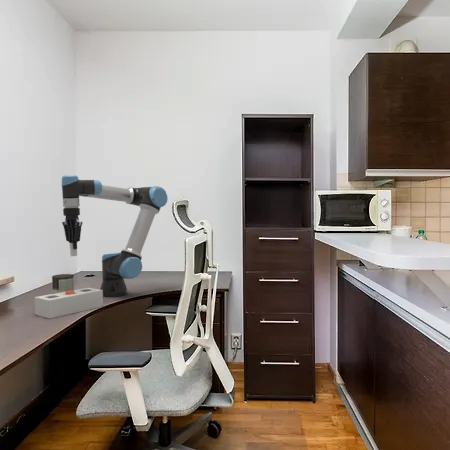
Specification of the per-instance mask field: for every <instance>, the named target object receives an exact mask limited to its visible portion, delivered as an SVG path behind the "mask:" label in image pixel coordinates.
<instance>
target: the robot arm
mask: <svg viewBox="0 0 450 450" xmlns="http://www.w3.org/2000/svg"><path fill="white" fill-rule="evenodd" d="M61 190H62V193H61V194H62V207H64V208H63V209H62V210H63V216H64V217H65V219H64V221H62V222H61V223H62V226H63V230H64V231H63V232H64V236H65V240H66V242H68V243H69V249H70V250H69V251H70V252H69V253H70V257H77V256H78V242H80V241H81V233H82V227H83V221H80V219H79V216H80V215H81V209H80V207H81V206H80V204H81V203H80V197H83V198H91V199H92V198H93V199H101V200H108V201H116V202H124V203H125V204H126V205H132V206H136V207H139V208H140V210H139V213H138V214H137V218H136V220H135V222H134V226H133V228H132V230H131V233H130V236H129V238H128V241H127V244H126V246H125V248H124V249H122V250H121V251H120V252H115V253H105V254H103V255H102V256H101V271H102V277H101V278H102V281H101V285H100V289H99V290H103V297H112V298H113V297H119V296H120V297H121V296H124V295H127V294H128V288H127V284H126V282H125V279H127V280H128V279H129V280H131V279H134V278H137V277H138V276H139V275H140V274H141V272H142V270H143V262H142V259H143V256H142V255H141V253H142V252H143V248H144V245H145V243H146V240H147V238H148V237H147V236H148V235H149V232H150V229H151V227H152V224H153V221H154V219H155V217H156V215H157V214H159V213H160V211H161V208H162V207H165V206H166V204H167V203H168V193H167V192H166V189H164V188H163V187H161V186H159V185H158V186H156V185H153V186H144V187H143V186H142V187H127V188H123V187H117V186H111V185H105V184H102V182H101V181H100V180H99V179H79V176H78V175H72V174H71V175H67V174H66V175H63V176H62V177H61Z"/></svg>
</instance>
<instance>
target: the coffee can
mask: <svg viewBox="0 0 450 450" xmlns="http://www.w3.org/2000/svg"><path fill="white" fill-rule="evenodd" d="M74 276H75V275H74V274H71V273H62V274H55V275H52V276H51V279H52V281H51V282H52V294H55V293H61V292H65V291H68V290H75V289H74V287H75V286H74V282H75V281H74Z"/></svg>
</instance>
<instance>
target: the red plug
mask: <svg viewBox="0 0 450 450" xmlns="http://www.w3.org/2000/svg"><path fill="white" fill-rule="evenodd" d="M74 290H75V289H74ZM74 290H68V291H65V295H71V294H74Z"/></svg>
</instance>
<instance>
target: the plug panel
mask: <svg viewBox="0 0 450 450" xmlns="http://www.w3.org/2000/svg"><path fill="white" fill-rule="evenodd" d="M85 289H90V290H91V291H87V292H83V291H82V290H85ZM53 295H55V296H57V297H55V298H47V297H48V296H53ZM103 298H104V296H103V290H100V289H98V288H93V287H84V288H78V289H74V294H71V295H65V292H61V293H55V294H53V293H49V294H45V295H40V296H35V297H34V315H35V316H39V317H42V318H44V319H45V318H46V319H49V320H50V319H54V318H58V317H62V316H68V315H71V314H76V313H79V312H84V311H89V310H93V309H97V308H103V307H104V299H103Z"/></svg>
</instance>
